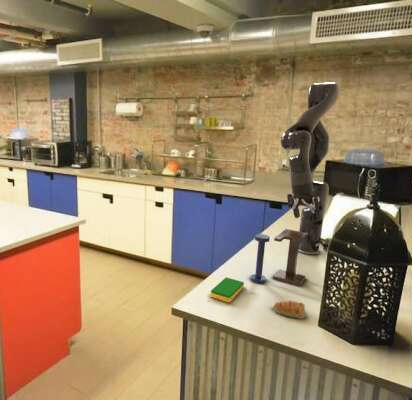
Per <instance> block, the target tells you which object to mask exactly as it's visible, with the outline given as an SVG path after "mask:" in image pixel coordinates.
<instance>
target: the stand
mask: <svg viewBox="0 0 412 400" xmlns="http://www.w3.org/2000/svg"><path fill="white" fill-rule="evenodd" d="M307 235H308V233H304V232H299V230H293V229H289V228H285V229H284V230H282V231H281V232H280V233H279V234H277V235H276V236H275V237H274V239H273V241H274V242H279V243H281V242H282V241H283V240H287V241H289V243H288V252H287V261H286V269H285V270H284V269H281V268H280V269H278V270H277V271H276V272H275V273H274V274H273V276H272V280H273V279H274V280H277V281H281V282H284V283H287V284H291V285H295V286H298V287H301V285H302V284H303V282H304V281H305V280H306V278H307V276H306V275H303V274H299V273H296V272H297V264H298V256H299V251H298V250H299V243H300V242H301V241H302V240H303V239H304V238H305V237H306V236H307Z"/></svg>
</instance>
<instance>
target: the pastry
mask: <svg viewBox="0 0 412 400" xmlns="http://www.w3.org/2000/svg"><path fill="white" fill-rule="evenodd" d="M272 308H273V310H274V312H276V313H278V314H279V315H283V316H285V317H289V318H296V319H298V320H299V319H300V320H302V319H304V318H305V317H306V311H305V304H304V303H303V302H302V301H300V302H297V301H293V300H288V301H279V302H275V303H274V304H273V307H272Z"/></svg>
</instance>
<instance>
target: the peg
mask: <svg viewBox="0 0 412 400" xmlns="http://www.w3.org/2000/svg"><path fill="white" fill-rule="evenodd" d="M270 238H271V236H269V235H268V234H264V233H257V234H255V235H254V240H255V241H256V242H257V243H258V244H257V251H256V252H257V254H256V264H255V273H254V274H251V275H250V281H251V282H253V283H256V284H265V283H266V282H267V278H266V276H264V275H263V268H264V258H265V248H266V243H269V242H270Z"/></svg>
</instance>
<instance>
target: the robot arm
mask: <svg viewBox="0 0 412 400" xmlns="http://www.w3.org/2000/svg"><path fill="white" fill-rule="evenodd" d="M339 97H340V86H339V84H338V83H336V82H320V83H312V84H311V85H310V86H309V89H308V93H307V109H306V110H305V111H303V112H302V113H301V115H300V116H299V117H298V119H297V121H296V123H294V124H293V125H291V126H290V127H289V128H287V129H286V130H285V131H284V132H283V134H282V136H281V138H280V145H281V148H283V150H286V151H298V150H299V152H298V153H297V154H294V155H291V156H290V157H289V158H288V166H289V177H290V178H289V179H290V187H291V192H290V193H287V194H286V197H287V198H286V199H287V207H288V208H290V209H291V210H292V212H293V217H294V218H295V219H299V218H300V221H299V229H298V231H299V232H304V233H308V235H307V236H306V237H305V238H304V239H303V240H302V241H301V242H300V243H299V250H298V253H302V254H306V255H318V254H319V253H320V246H324V247H327V246H328V244H329V243H323V241H322V231H323V223H324V216H325V211H326V208H327V202H328V197H329V193H330V191H329V190H330V186H329V184H328V182H324V181H319V180H318V181H317V180H314V174H315V171H316V170H317V168H318V167H319V166H320V164H321V163H322V161H324V159H325V158H326V157H327V155H328V153H329V150H330V149H329V147H330V134H329V131H328V130H327V128H326V127H325V125H324V123H323V122H322V120H321V119H322V118H323V117H325V115H326V114H327V113H328V112H329V111H330V110H331V109H332V108H333V107H334V106H335V105H336V103H337V102H338V100H339ZM301 206H302V207H303V208H302V209H301V213H300V208H299V207H301ZM328 247H329V246H328Z"/></svg>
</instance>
